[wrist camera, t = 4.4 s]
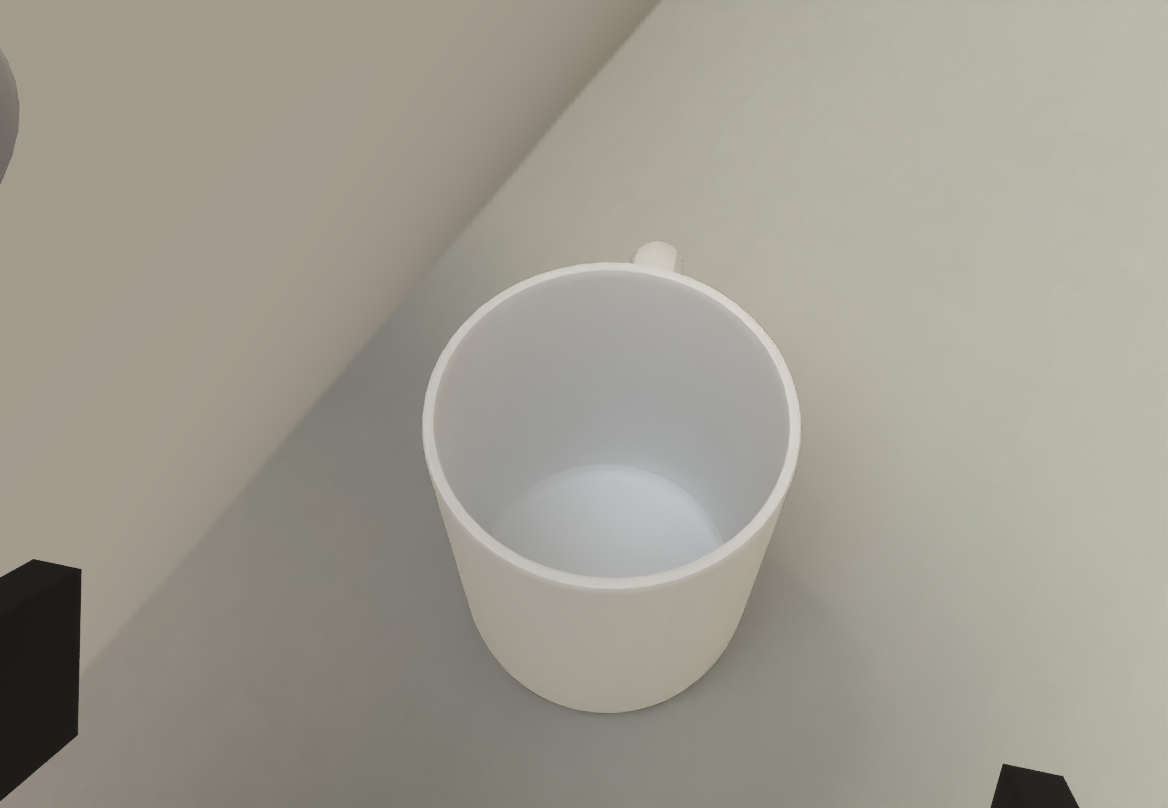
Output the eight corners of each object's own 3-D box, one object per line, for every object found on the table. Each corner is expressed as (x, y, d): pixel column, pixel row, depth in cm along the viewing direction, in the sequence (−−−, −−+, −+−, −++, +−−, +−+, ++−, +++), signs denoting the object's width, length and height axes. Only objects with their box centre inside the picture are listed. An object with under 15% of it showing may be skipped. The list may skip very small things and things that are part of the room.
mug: (538, 348, 36) (520, 126, 27) (776, 394, 34) (839, 178, 26) (434, 684, 30) (367, 541, 21) (718, 751, 28) (775, 630, 20)
